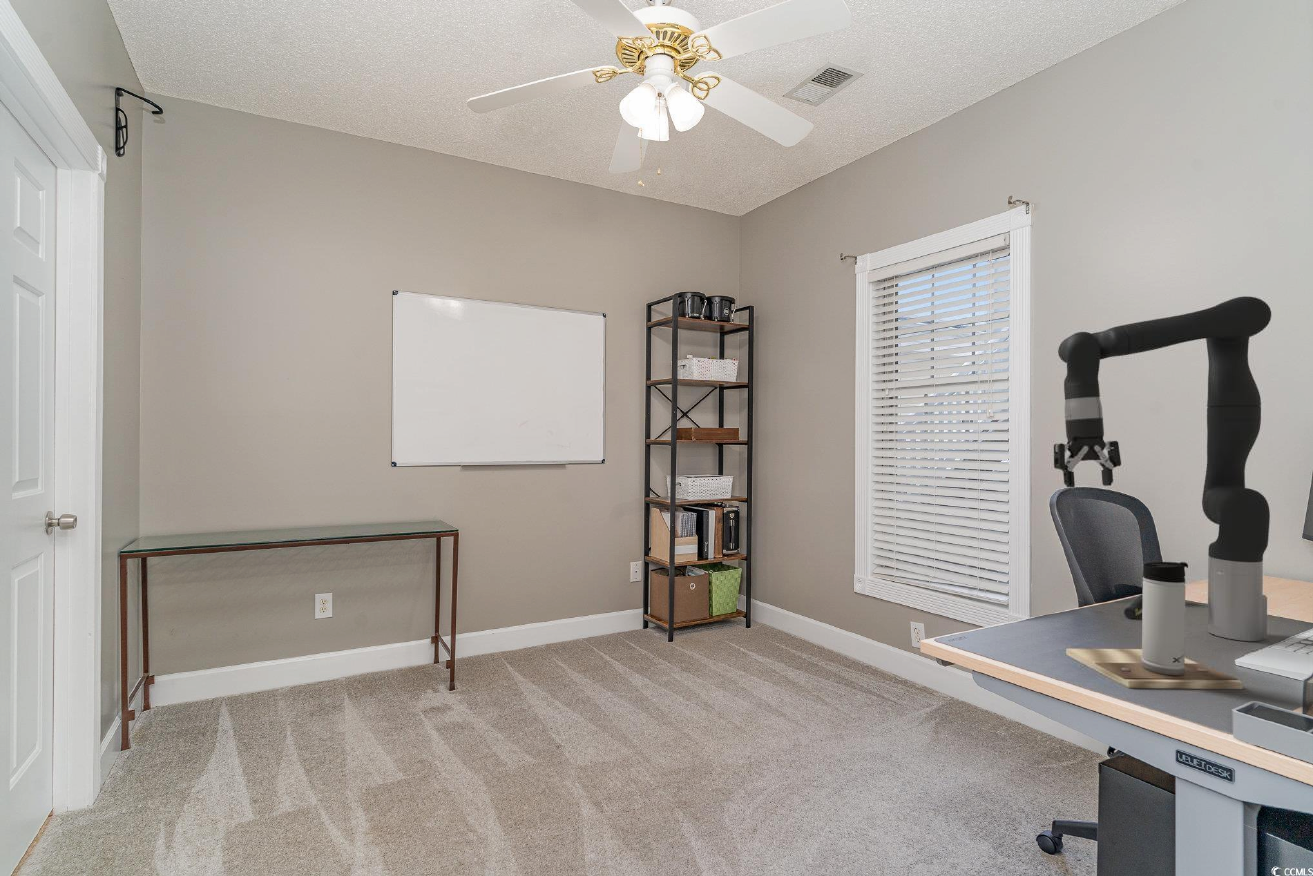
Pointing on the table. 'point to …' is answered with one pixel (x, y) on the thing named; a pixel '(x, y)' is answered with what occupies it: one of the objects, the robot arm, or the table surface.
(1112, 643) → the table surface
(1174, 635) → the travel mug
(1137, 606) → the mallet
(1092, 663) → the plywood panel
